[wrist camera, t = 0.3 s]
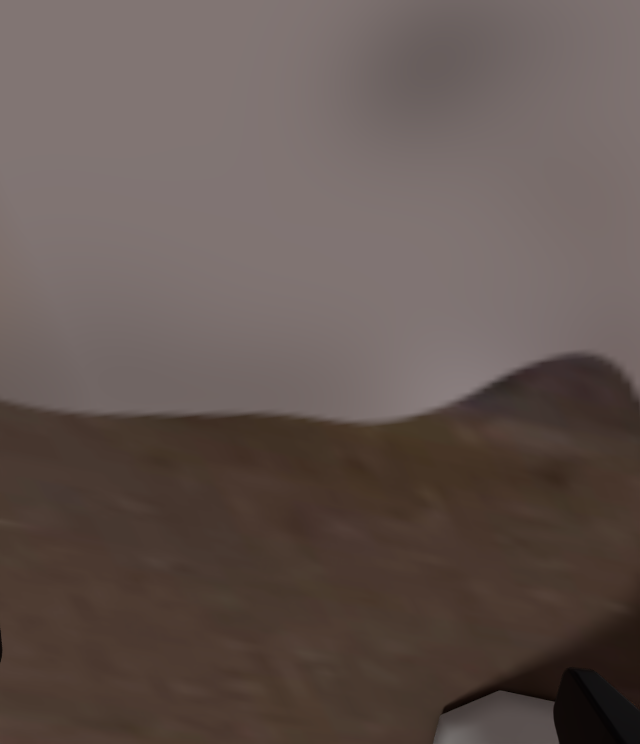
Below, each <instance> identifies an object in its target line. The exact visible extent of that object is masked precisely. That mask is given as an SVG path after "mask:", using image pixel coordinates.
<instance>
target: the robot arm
mask: <svg viewBox="0 0 640 744" xmlns="http://www.w3.org/2000/svg"><path fill="white" fill-rule="evenodd" d="M1 658H2V641H1V630H0V662H1ZM553 719H554V725H555V729H556V733H557V737H558V741H559V744H640V710H639V709H638V708H636V707H635V706H634V705H633V704H632V703H631V702H630V701H629V700H627V699H626V698H625V697H624V696H623V695H622V694H621V693H620V692H618V691H617V690H616V689H615V688H614V687H613V686H612V685H610V684H609V683H608V682H607V681H606V680H605V679H604V678H603V677H601V676H600V675H599V674H598V673H597V672H595V671H594V670H591V669H584V668H574V667H569V668H567V669H566V670H565V671H564V673H563V675H562V678H561V682H560V685H559V689H558V692H557V696H556V699H555V703H554V707H553Z"/></svg>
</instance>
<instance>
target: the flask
mask: <svg viewBox="0 0 640 744" xmlns="http://www.w3.org/2000/svg"><path fill="white" fill-rule="evenodd" d="M554 703H555V702H553V701H549V700H544V699H539V698H534V697H530V696H525V695H520V694H515V693H510V692H506V691H501V690H499V691H497V692H494V693H492V694H490V695H487V696H485V697H482V698H480V699H478V700H475V701H473V702H470V703H468V704H466V705H463V706H461V707H459V708H456V709H454V710H451V711H449V712H447V713H444V714H442V715H440V718H439V722H438V726H437V730H436V734H435V738H434V742H433V744H559V741H558V737H557V733H556V729H555V725H554V719H553V707H554Z"/></svg>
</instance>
